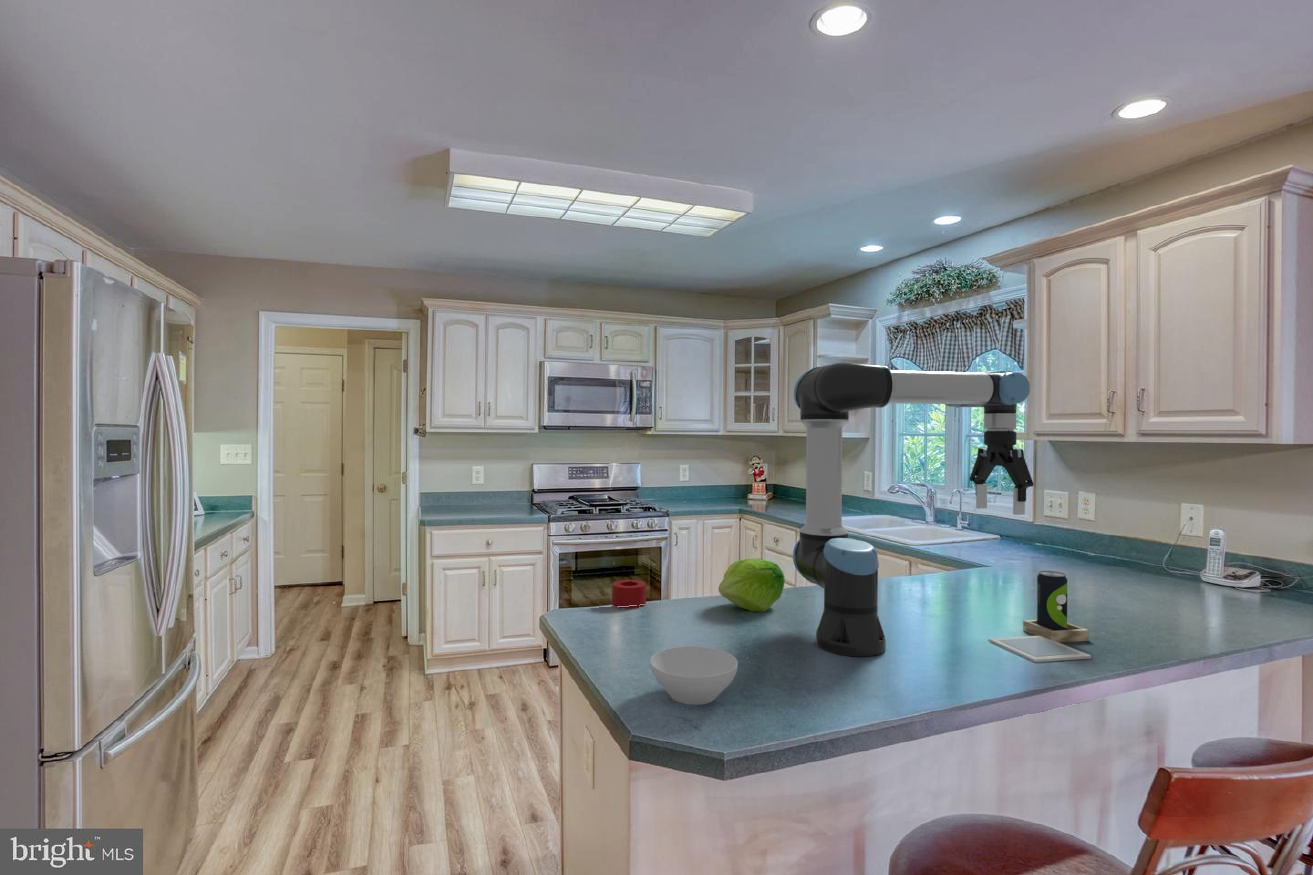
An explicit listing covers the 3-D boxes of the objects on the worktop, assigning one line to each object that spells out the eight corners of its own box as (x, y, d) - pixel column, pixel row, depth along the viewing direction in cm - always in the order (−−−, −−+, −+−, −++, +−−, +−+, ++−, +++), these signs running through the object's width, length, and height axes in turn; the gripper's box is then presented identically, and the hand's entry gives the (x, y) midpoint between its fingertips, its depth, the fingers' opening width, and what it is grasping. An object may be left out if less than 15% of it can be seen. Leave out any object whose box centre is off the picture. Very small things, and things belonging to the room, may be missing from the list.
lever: (643, 612, 172) (643, 588, 172) (609, 611, 173) (609, 587, 173) (650, 596, 190) (650, 573, 190) (619, 595, 191) (619, 573, 191)
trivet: (1034, 662, 135) (1035, 659, 135) (988, 641, 149) (988, 638, 149) (1091, 658, 138) (1091, 655, 138) (1040, 637, 152) (1040, 634, 152)
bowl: (642, 714, 109) (642, 673, 109) (657, 679, 125) (657, 643, 125) (736, 721, 107) (736, 679, 107) (739, 684, 122) (739, 648, 122)
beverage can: (1034, 630, 158) (1034, 569, 158) (1063, 632, 156) (1063, 571, 156) (1040, 637, 152) (1040, 574, 152) (1070, 640, 150) (1070, 576, 150)
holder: (1054, 642, 148) (1054, 632, 148) (1023, 630, 157) (1023, 620, 157) (1088, 640, 150) (1088, 630, 150) (1056, 628, 159) (1056, 618, 159)
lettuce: (705, 606, 178) (706, 557, 178) (765, 599, 186) (766, 552, 186) (733, 620, 164) (734, 568, 164) (797, 612, 173) (797, 561, 173)
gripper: (1050, 430, 155) (1049, 517, 155) (979, 430, 180) (979, 505, 180) (1023, 429, 154) (1022, 517, 154) (956, 430, 178) (955, 506, 178)
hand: (999, 511), depth 167 cm, fingers open, 13 cm apart
